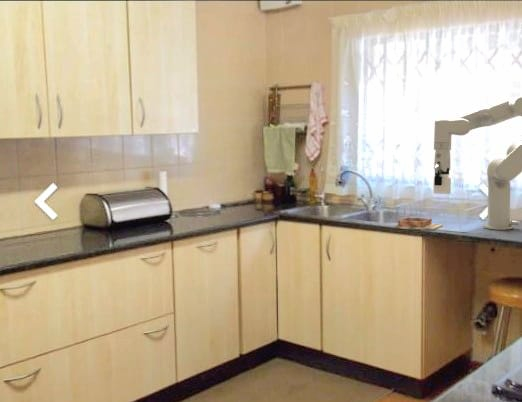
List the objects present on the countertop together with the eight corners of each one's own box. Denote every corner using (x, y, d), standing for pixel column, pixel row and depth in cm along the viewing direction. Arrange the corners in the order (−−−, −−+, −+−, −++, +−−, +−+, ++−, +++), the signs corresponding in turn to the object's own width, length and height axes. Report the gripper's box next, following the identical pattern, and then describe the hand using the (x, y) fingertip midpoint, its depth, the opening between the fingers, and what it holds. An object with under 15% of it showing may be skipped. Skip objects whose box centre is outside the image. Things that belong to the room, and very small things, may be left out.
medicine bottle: (450, 193, 292) (451, 167, 290) (433, 193, 293) (434, 167, 292) (449, 192, 299) (450, 166, 297) (433, 191, 300) (434, 166, 299)
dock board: (442, 226, 305) (442, 218, 304) (432, 230, 293) (432, 223, 293) (406, 223, 315) (406, 216, 314) (395, 228, 303) (395, 220, 303)
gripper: (445, 147, 284) (443, 186, 286) (456, 146, 299) (454, 183, 301) (428, 147, 288) (427, 185, 290) (440, 145, 303) (438, 182, 305)
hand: (441, 184), depth 296 cm, fingers closed on medicine bottle, 8 cm apart
